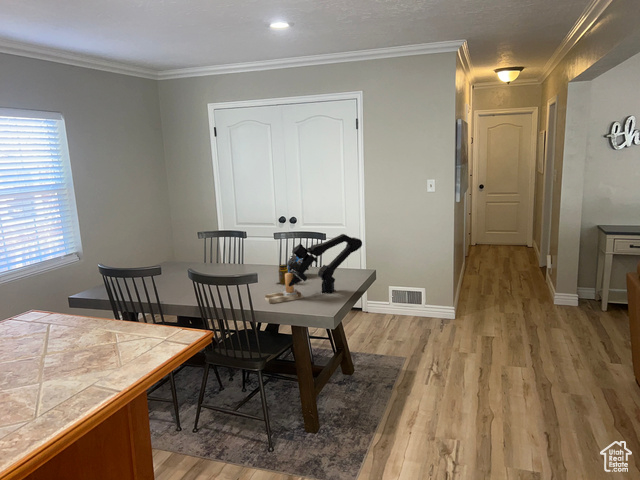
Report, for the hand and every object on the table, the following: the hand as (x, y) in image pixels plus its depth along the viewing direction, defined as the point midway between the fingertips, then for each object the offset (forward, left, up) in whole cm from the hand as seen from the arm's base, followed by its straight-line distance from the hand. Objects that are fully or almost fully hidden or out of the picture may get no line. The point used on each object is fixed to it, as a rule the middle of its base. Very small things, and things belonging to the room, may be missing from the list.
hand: (287, 285), depth 263 cm
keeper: (-1, -1, -6) cm, 6 cm away
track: (+2, +2, -8) cm, 8 cm away
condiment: (+20, -25, -8) cm, 33 cm away
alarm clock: (+21, -43, -8) cm, 48 cm away
